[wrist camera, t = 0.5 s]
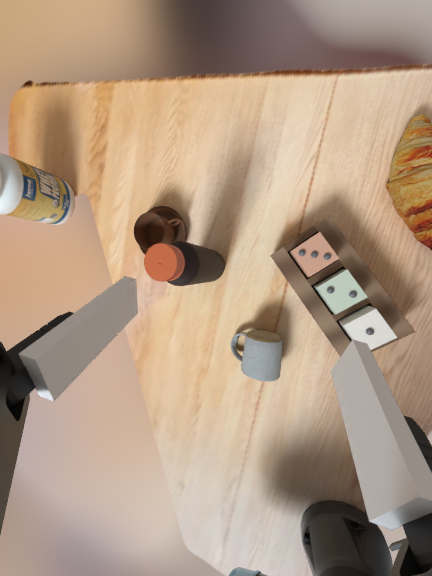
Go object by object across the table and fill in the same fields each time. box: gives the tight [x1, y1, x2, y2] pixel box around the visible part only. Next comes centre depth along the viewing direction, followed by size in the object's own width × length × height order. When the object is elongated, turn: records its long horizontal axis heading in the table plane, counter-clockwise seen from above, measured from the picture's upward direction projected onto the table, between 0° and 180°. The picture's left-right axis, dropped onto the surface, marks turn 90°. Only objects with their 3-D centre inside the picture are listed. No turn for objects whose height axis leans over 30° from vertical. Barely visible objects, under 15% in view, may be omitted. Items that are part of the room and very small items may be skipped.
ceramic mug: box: [231, 330, 282, 381], centre depth 41 cm, size 10×8×7 cm
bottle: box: [144, 241, 224, 286], centre depth 37 cm, size 7×7×20 cm
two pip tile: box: [314, 269, 367, 314], centre depth 34 cm, size 5×5×4 cm
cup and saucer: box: [134, 206, 186, 255], centre depth 46 cm, size 12×12×6 cm
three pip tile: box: [290, 232, 339, 277], centre depth 35 cm, size 5×5×4 cm
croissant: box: [386, 114, 432, 250], centre depth 33 cm, size 21×10×8 cm, turn 12°
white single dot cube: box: [338, 305, 397, 350], centre depth 34 cm, size 5×5×4 cm
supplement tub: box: [0, 153, 75, 225], centre depth 49 cm, size 12×12×17 cm
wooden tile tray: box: [270, 216, 415, 357], centre depth 37 cm, size 22×11×5 cm, turn 34°
